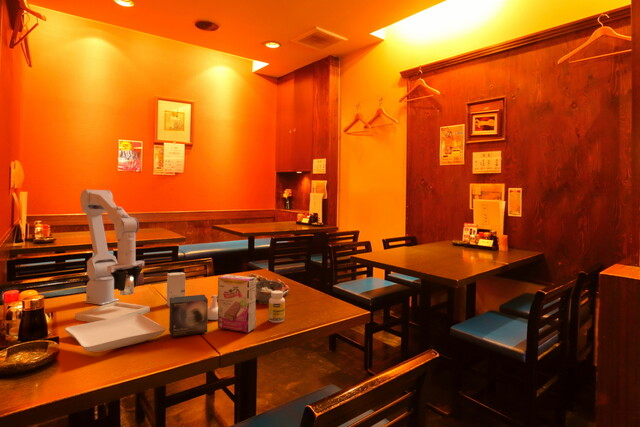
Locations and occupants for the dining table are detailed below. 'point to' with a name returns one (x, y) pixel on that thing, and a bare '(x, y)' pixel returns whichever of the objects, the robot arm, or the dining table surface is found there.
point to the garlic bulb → (213, 309)
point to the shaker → (128, 285)
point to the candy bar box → (236, 303)
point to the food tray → (267, 288)
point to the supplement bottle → (276, 307)
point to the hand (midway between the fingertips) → (126, 288)
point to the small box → (188, 315)
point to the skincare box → (175, 285)
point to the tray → (111, 311)
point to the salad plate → (115, 332)
